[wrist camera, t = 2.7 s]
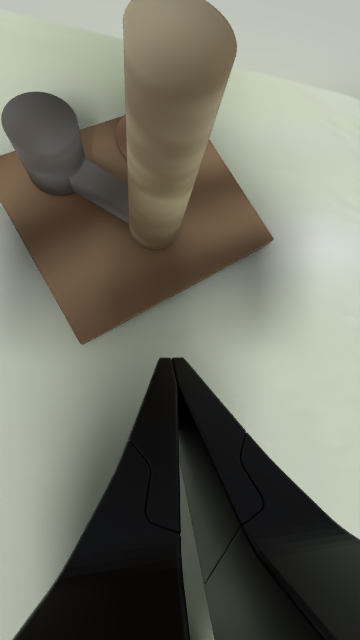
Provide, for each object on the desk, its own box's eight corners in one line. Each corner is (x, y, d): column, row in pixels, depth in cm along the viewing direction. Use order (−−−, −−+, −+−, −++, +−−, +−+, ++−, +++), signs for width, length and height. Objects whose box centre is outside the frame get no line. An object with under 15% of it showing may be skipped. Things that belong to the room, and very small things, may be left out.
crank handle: (15, 175, 16) (-170, -132, 6) (50, 136, 17) (-64, -186, 7) (161, 261, 17) (202, 106, 7) (187, 219, 17) (256, 29, 8)
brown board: (268, 244, 19) (275, 237, 19) (82, 344, 16) (79, 342, 15) (179, 107, 20) (182, 94, 19) (-14, 171, 17) (-24, 159, 16)
